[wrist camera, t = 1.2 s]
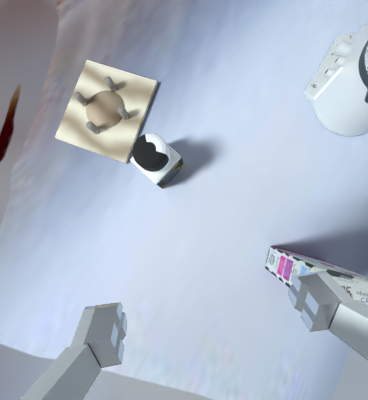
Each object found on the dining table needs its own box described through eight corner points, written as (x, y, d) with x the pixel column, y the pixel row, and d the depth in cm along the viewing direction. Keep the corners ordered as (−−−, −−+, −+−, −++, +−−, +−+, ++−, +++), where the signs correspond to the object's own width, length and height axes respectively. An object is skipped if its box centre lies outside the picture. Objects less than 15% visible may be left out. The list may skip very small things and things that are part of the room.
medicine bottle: (162, 189, 45) (149, 179, 33) (140, 168, 45) (118, 151, 33) (184, 165, 45) (179, 147, 33) (161, 145, 45) (147, 119, 33)
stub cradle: (89, 62, 48) (79, 49, 45) (157, 83, 47) (153, 71, 43) (57, 139, 48) (44, 132, 44) (126, 163, 46) (119, 158, 42)
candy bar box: (263, 269, 41) (305, 303, 25) (269, 245, 42) (313, 264, 25) (319, 285, 40) (400, 331, 24) (324, 260, 41) (408, 290, 24)
